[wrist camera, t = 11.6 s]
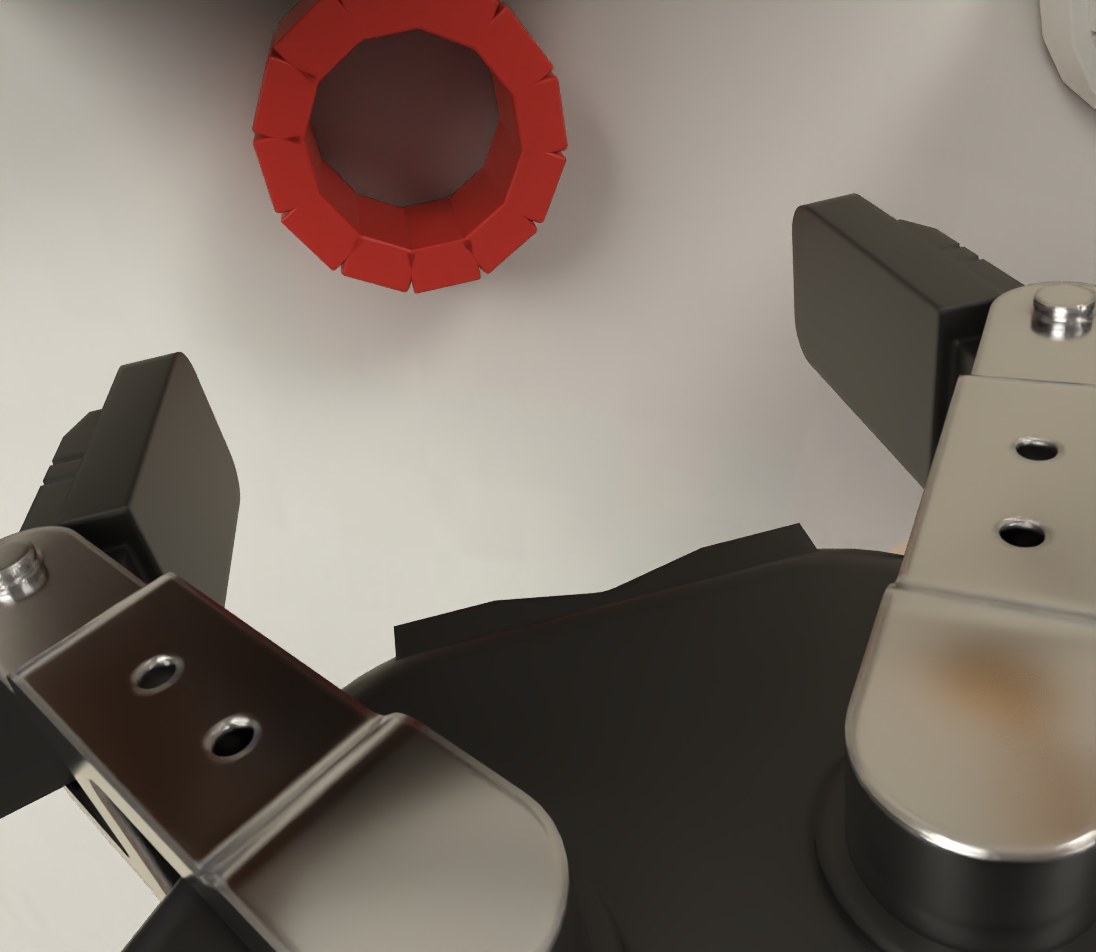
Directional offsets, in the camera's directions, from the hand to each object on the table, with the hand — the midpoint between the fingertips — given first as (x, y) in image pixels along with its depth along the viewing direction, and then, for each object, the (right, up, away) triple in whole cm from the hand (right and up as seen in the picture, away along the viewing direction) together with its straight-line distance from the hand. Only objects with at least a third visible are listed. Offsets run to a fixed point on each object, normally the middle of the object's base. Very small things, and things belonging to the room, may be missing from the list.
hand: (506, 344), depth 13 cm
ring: (-3, +7, +9) cm, 12 cm away
